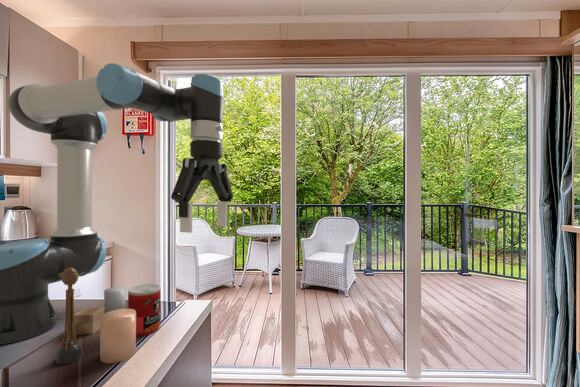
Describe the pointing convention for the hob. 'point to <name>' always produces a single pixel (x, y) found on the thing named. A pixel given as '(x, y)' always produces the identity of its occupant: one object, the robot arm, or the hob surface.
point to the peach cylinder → (117, 335)
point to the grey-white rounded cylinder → (114, 299)
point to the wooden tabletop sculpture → (69, 322)
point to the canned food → (145, 307)
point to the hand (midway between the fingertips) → (205, 229)
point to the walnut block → (88, 320)
